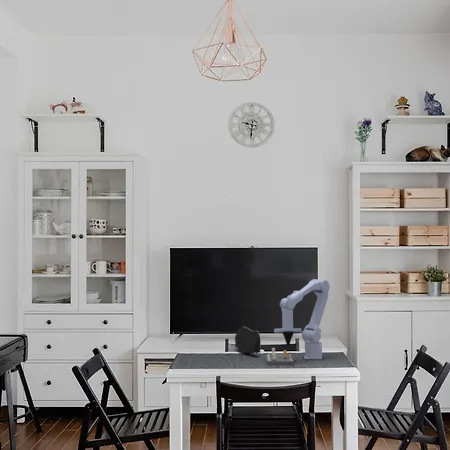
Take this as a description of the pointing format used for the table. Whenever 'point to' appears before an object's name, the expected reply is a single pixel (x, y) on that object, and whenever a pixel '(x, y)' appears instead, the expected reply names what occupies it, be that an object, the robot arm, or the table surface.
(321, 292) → the robot arm
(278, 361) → the board
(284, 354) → the block
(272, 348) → the block
